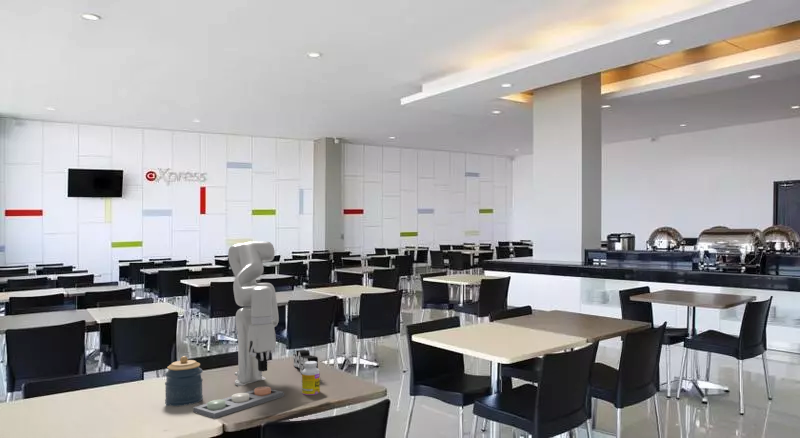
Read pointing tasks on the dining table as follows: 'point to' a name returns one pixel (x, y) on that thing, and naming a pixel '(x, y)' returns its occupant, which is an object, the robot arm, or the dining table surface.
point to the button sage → (216, 405)
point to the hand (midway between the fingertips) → (262, 370)
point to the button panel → (238, 404)
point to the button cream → (240, 397)
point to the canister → (183, 383)
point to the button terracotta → (262, 391)
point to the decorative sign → (303, 359)
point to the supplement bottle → (310, 379)
